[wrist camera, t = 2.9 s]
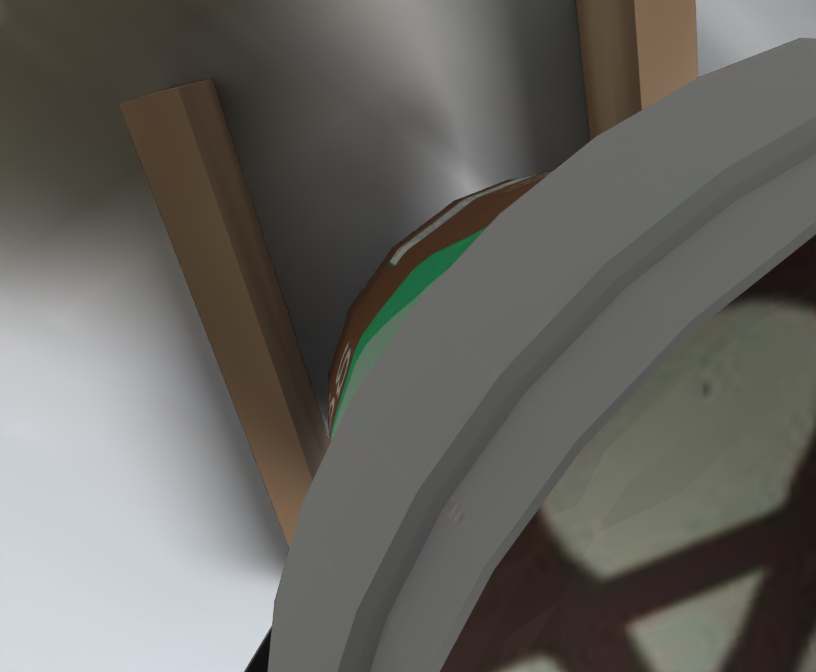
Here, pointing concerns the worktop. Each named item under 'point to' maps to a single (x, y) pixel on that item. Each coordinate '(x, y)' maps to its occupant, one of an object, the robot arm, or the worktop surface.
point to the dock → (247, 252)
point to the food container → (584, 412)
